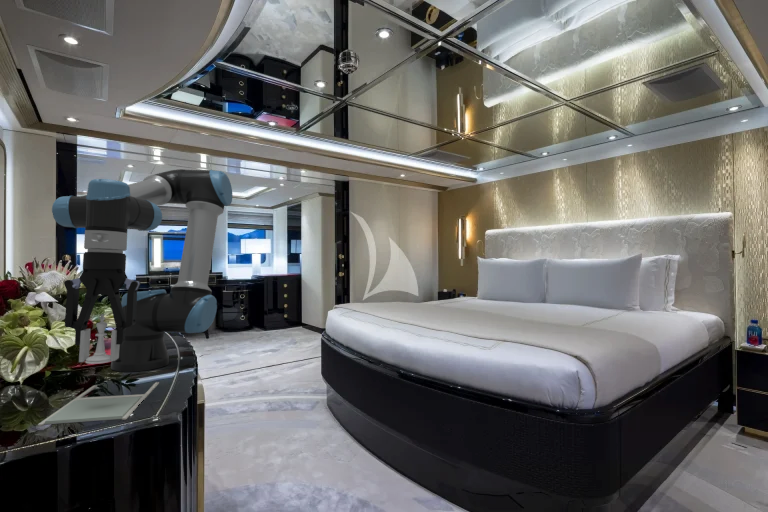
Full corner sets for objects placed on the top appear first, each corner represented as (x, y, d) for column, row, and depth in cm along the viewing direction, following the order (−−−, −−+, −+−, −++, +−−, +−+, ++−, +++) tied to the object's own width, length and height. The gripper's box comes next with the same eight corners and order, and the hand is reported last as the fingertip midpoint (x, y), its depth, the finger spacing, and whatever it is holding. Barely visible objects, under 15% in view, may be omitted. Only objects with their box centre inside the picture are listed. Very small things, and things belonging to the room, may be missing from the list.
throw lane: (93, 386, 98) (93, 384, 98) (159, 383, 103) (159, 381, 103) (37, 425, 74) (38, 422, 74) (126, 419, 79) (126, 416, 79)
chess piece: (91, 365, 80) (94, 316, 80) (81, 361, 82) (83, 314, 83) (117, 360, 84) (120, 314, 84) (107, 357, 86) (110, 312, 87)
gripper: (46, 249, 78) (38, 366, 77) (147, 252, 83) (141, 362, 82) (64, 250, 85) (58, 357, 84) (156, 253, 90) (151, 354, 89)
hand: (99, 359), depth 83 cm, fingers closed on chess piece, 5 cm apart
